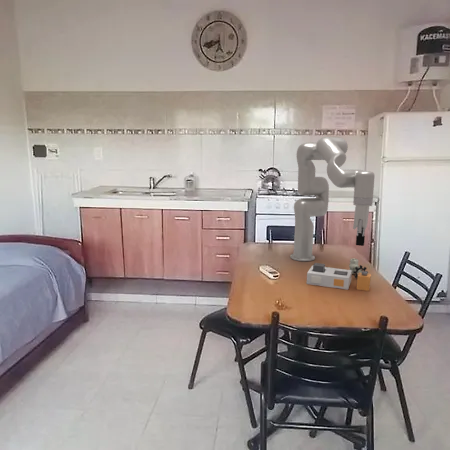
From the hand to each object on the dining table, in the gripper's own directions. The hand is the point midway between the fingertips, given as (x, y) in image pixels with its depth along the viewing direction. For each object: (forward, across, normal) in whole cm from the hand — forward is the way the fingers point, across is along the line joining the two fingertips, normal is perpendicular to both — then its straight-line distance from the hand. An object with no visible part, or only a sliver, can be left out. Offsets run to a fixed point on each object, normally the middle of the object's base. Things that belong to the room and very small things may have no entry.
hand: (359, 245), depth 181 cm
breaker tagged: (+18, -2, -7) cm, 19 cm away
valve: (+19, -17, -2) cm, 26 cm away
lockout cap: (+19, 0, +2) cm, 19 cm away
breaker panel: (+18, -2, -12) cm, 22 cm away
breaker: (+15, -1, -17) cm, 23 cm away
